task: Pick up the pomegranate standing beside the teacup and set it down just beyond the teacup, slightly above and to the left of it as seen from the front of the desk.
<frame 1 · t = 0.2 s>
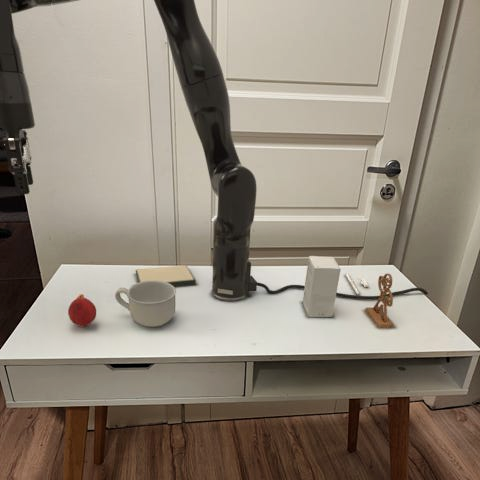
hand: (25, 188, 88), 29 cm above the table, tool pointing down, fingers open, 8 cm apart
pomegranate: (84, 327, 97), on the table
small box: (316, 310, 109), on the table
notebook: (165, 279, 121), on the table
teacup: (147, 320, 101), on the table
brown openwork figurine: (378, 319, 107), on the table
picture light: (358, 285, 124), on the table
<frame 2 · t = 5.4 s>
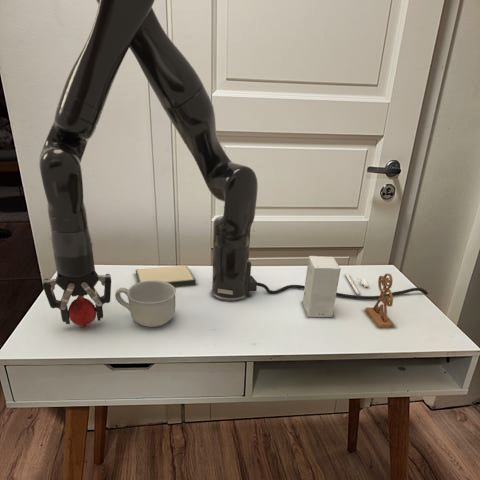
hand: (83, 320, 96), 2 cm above the table, tool pointing down, fingers closed on pomegranate, 6 cm apart
pomegranate: (84, 327, 97), on the table, touching gripper
everything else where it was.
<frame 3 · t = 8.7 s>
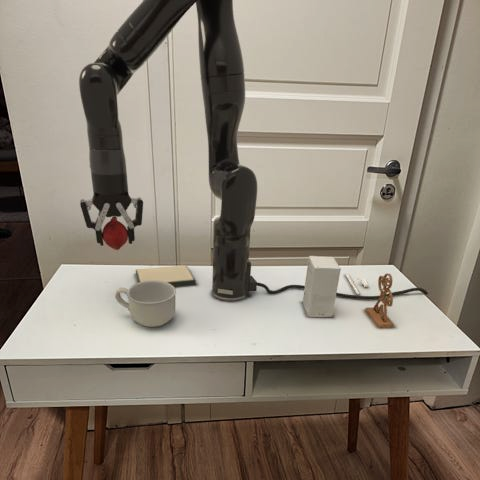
hand: (116, 243, 102), 15 cm above the table, tool pointing down, fingers closed on pomegranate, 6 cm apart
pomegranate: (116, 250, 103), point 13 cm above the table, touching gripper
everything else where it was.
when the fingers open (2 cm above the table, at t = 12.3 s): pomegranate stays where it is, on the table.
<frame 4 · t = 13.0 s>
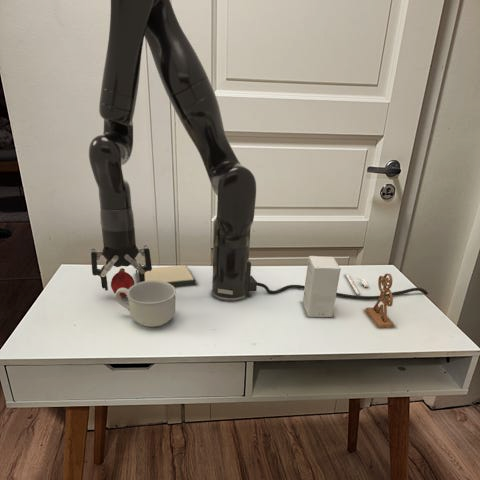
hand: (124, 287, 109), 3 cm above the table, tool pointing down, fingers open, 8 cm apart
pomegranate: (124, 298, 110), on the table
everything else where it was.
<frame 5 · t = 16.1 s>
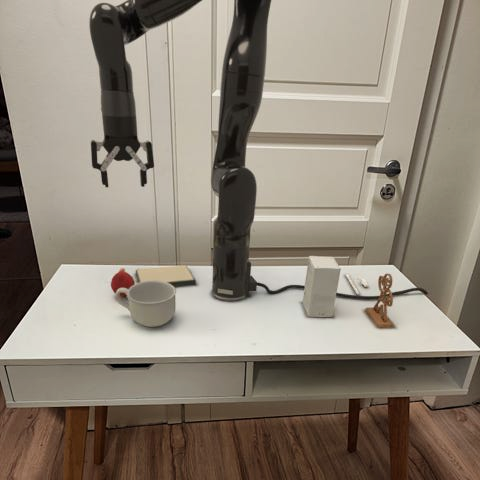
hand: (125, 186, 105), 26 cm above the table, tool pointing down, fingers open, 8 cm apart
nothing on the table moved.
at the end: pomegranate inside the target area on the table beside the teacup (0.4 cm from its centre), on the table; the gripper is holding nothing; teacup moved 0.2 cm from its start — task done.
